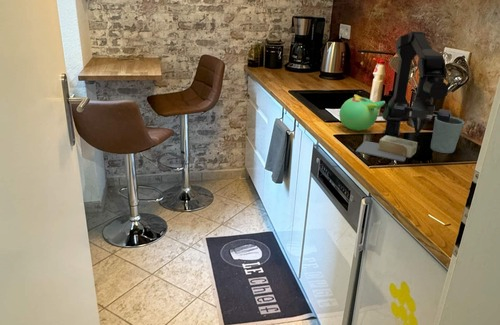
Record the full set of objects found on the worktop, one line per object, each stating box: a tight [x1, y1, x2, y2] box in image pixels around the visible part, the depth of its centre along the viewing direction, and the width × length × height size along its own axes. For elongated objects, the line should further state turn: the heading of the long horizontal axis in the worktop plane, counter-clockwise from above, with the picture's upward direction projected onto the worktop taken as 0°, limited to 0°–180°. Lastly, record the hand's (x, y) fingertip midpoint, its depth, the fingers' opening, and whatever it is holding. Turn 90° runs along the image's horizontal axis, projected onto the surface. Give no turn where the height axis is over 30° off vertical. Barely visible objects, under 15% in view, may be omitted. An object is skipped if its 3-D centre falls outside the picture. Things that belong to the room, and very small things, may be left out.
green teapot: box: [338, 94, 386, 132], centre depth 174 cm, size 18×17×15 cm
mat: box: [355, 140, 408, 162], centre depth 153 cm, size 13×18×1 cm
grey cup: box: [430, 116, 465, 154], centre depth 154 cm, size 10×10×12 cm
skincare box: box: [378, 134, 418, 158], centre depth 151 cm, size 6×4×12 cm
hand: (416, 135), depth 145 cm, fingers closed
